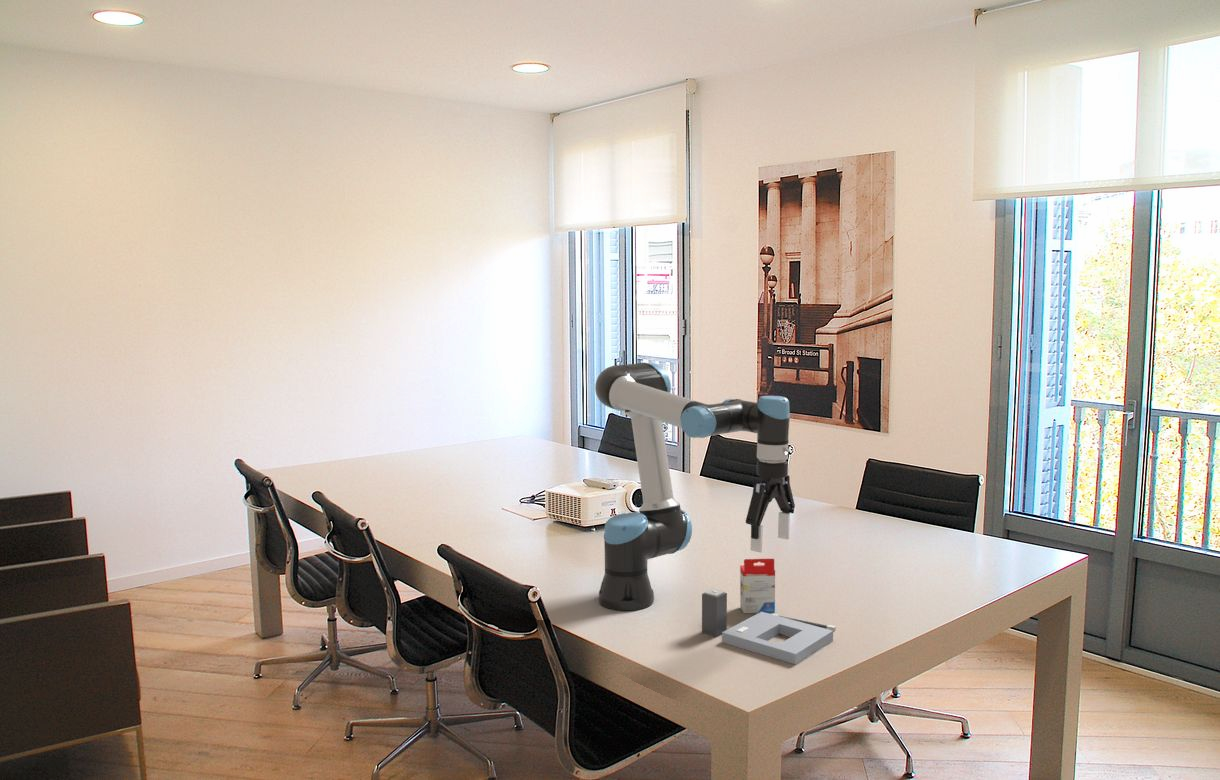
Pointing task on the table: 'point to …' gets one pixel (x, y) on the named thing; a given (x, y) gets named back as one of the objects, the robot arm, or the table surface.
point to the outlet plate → (767, 626)
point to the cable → (813, 623)
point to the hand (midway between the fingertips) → (770, 544)
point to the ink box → (757, 586)
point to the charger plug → (714, 612)
